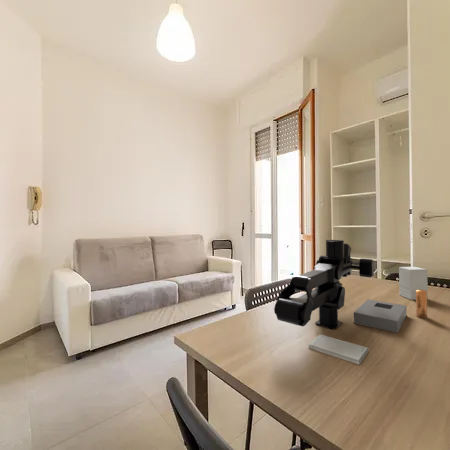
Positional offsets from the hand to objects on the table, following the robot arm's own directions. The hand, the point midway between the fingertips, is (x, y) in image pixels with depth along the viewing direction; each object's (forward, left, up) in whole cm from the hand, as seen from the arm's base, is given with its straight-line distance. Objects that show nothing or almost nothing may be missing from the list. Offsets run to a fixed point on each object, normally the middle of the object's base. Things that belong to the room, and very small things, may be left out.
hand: (351, 262), depth 102 cm
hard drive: (-40, -8, -17) cm, 45 cm away
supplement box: (+26, -17, -17) cm, 35 cm away
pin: (+1, -22, -17) cm, 28 cm away
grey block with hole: (-10, -12, -17) cm, 23 cm away
